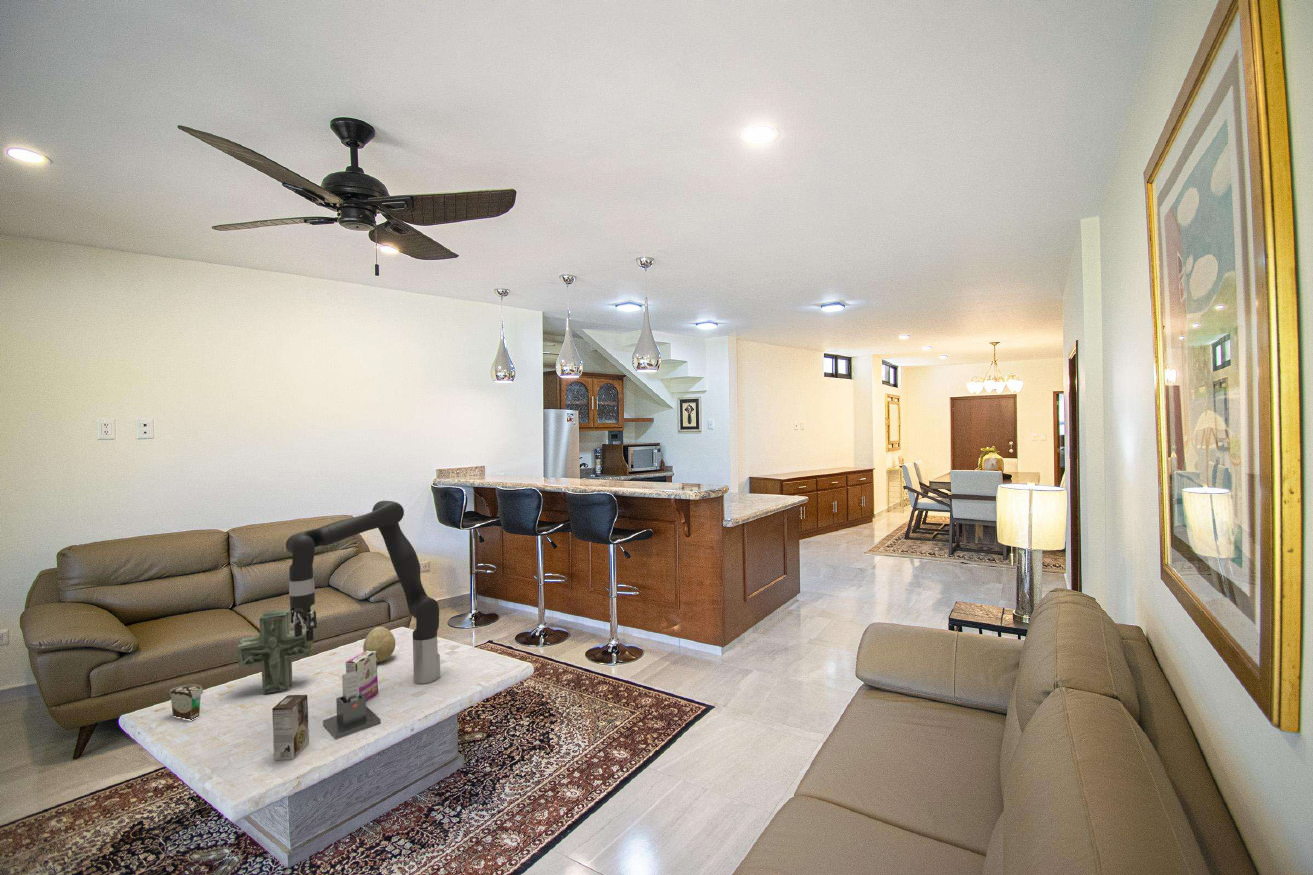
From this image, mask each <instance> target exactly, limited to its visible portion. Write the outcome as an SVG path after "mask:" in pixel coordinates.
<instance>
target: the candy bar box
mask: <svg viewBox="0 0 1313 875" xmlns="http://www.w3.org/2000/svg"><path fill="white" fill-rule="evenodd" d="M354 671H355V672H356V673H358V674H359V692H360V693H361V694H363V695H364V696H365V697H366V702H367V701H369V700H370V699H372V698H373V697H374V696H376V695H377V694H379V684H378V681H379V680H378V679H379V678H378V662H377V656H376V651H365V652H364V651H363V652H361V653H359V654H357V655H356V656H354V657H352V658H350V659H349V660H347V661H345V674H347V673H350V672H354Z"/></svg>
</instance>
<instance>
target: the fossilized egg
mask: <svg viewBox="0 0 1313 875" xmlns="http://www.w3.org/2000/svg"><path fill="white" fill-rule="evenodd" d="M362 646H363V648H362V649H363V652H365V651H376V656H377V663H382V662H384V661H387V660H388V659H389V658H390V657H391V656H392V655H393V653H394V651H395V650H396V638H395V636H394V634H393V632H392V631H390V630H389V629H388V628H387V627H384V626H377V627H374V628H373V629H372V630H371V631H369V633H368V634H367V635H366V637H365V639H364V640H363V645H362Z"/></svg>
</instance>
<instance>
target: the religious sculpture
mask: <svg viewBox="0 0 1313 875" xmlns="http://www.w3.org/2000/svg"><path fill="white" fill-rule="evenodd" d="M313 640H314V639H313ZM313 640H312V641H306V630H305V628H302V635H301V636H298V637H295V633H294V630H291V621H290V608H289V609H277V610H276V609H275V610H269V611H264V612H263V613H262V615H261V616H260V617H259V635H254V636H249V637H244V638H241V639H240V641H239V644H238V645H237V658H238V668H239V669H247V668H253V667H256V666H260V667H261V681H262V695H270V694H277V693H282V692H287V691H289V689H290V688H291V686H292V685H293V679H294V678H293V659H297V658H302V657H308V656H310V653H312V652H313V650H314V642H313Z"/></svg>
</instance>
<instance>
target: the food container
mask: <svg viewBox="0 0 1313 875" xmlns="http://www.w3.org/2000/svg"><path fill="white" fill-rule="evenodd" d="M202 694H204V690H203V687H202V686H201V685H200V684H196V683H193V684H184V685H180V686H177V687H175V686H174V687H173V688H170V689H169V694H168V695H170V702H171V709H172V710H171V711H172V712H171V713H172V717H173V716H176V717H181V718H185V719H190V720H192V719H194V718H196V717H198V718H199V717H200V713H201V712H200V710H201V695H202ZM196 719H197V718H196ZM194 720H195V719H194ZM192 721H193V720H192Z"/></svg>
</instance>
